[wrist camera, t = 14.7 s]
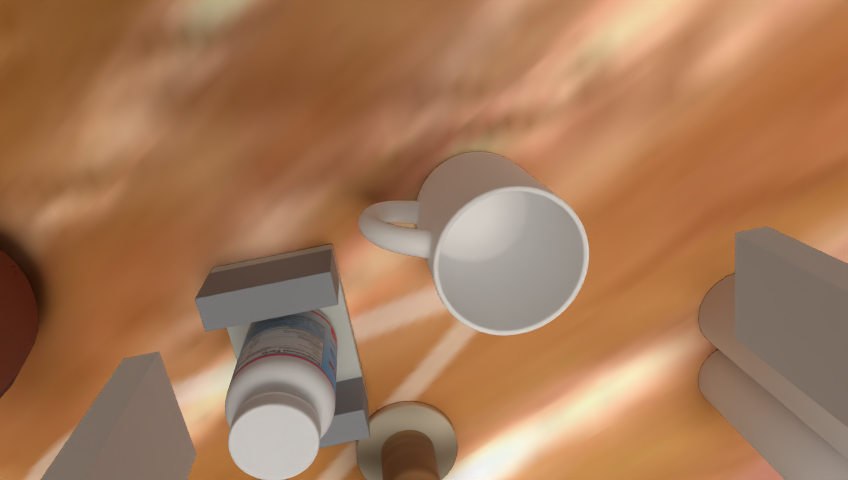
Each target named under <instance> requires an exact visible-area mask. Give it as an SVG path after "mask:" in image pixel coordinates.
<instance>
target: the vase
mask: <svg viewBox="0 0 848 480" xmlns="http://www.w3.org/2000/svg"><path fill="white" fill-rule="evenodd" d="M698 320H699V325H700V330H701V331H702V333H703V334H704V336H705V337H706V339H707V340H708V341H709V342H711V343H712V344H713V345H714V346H715V347H716V348H718V349H719V350H717V351H715V352H714V353H712V354H711V355H710V356H709V357H708V358H707V359H706V360H705V362H704V363H703V364H702V367H701V369H700V371H699V376H698V385H699V390H700V391H701V393H702V395H703V396H704V397H705V398H706V399H707V400H708V401H709V402H710V404H711V405H712V406H713V407H714V408H715V409H716V410H717V411H718V412H719V413H720V414H721V415H722V416H723V417H724V418H725V419H726V420H727V421H728V422H729V423H730V424H731V425H732V426H733V427H734V428H735V429H736V430H737V431H738V432H739V433H740V434H741V435H742V436H743V437H744V438H745V439H746V440H747V441H748V443H749V444H750V445H751V446H752V447H753V448H754V449H755V450H756V451H757V452H758V453H759V454H760V455H761V456H762V457H763V458H764V459H765V460H766V461H767V462H768V463H769V464H770V465H771V466H772V467H773V468H774V469H775V470H776V471H777V472H778V473H779V474H780V475H781V476H782V477H783V478H784V479H785V480H848V428H847V427H846V426H845V425H844V424H842V423H841V422H840V421H839V420H837V419H836V418H835V417H833V416H832V415H831V414H830V413H828V412H827V411H826V410H825V409H823V408H822V407H821V406H820V405H818V404H817V403H816V402H815V401H813V400H812V399H811V398H810V397H808V396H807V395H806V394H804V393H803V392H802V391H801V390H799V389H798V388H797V387H796V386H794V385H793V384H792V383H791V382H789V381H788V380H787V379H786V378H784V377H783V376H782V375H781V374H779V373H778V372H777V371H775V370H774V369H773V368H772V367H770V366H769V365H768V364H767V363H765V362H764V361H763V360H762V359H760V358H759V357H758V356H757V355H755V354H754V353H753V352H751V351H750V350H749V349H748V348H746V347H745V346H744V345H743V344H741V343H740V342H739V341H738V340H736V339H735V274H732V275H729V276H727V277H725V278H724V279H722V280H721V281H719V282H718V283H716V284H715V285H714V286H713V288H712V289H711V290H710V291H709V292H708V293H707V294H706V296H705V298H704V300H703V302H702V304H701V306H700V311H699V317H698Z"/></svg>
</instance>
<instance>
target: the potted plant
mask: <svg viewBox="0 0 848 480" xmlns="http://www.w3.org/2000/svg"><path fill="white" fill-rule="evenodd" d="M38 316H39V314H38V309H37V304H36V299H35V296H34V293H33V290H32V288H31V286H30V283H29V281H28V279H27V277H26V275H25V274H24V272H23V271H22V270H21V268H20V267H19V265H18V264H17V263H16V262H15V261H14V260H13V259H12V258H11V257H10V256H9V255H8V254H6V253H5V252H3V251H2V250H1V249H0V398H1V397H2V396H3V394H4V393H5V392H6V391H7V390H8V389H9V388H10V387H11V385H12V384H13V382H14V380H15V378H16V376H17V375H18V373H19V371H20V369H21V367H22V366H23V364H24V362H25V360H26V358H27V356H28V354H29V353H30V351H31V349H32V347H33V345H34V343H35V339H36V336H37V332H38Z"/></svg>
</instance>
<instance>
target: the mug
mask: <svg viewBox="0 0 848 480" xmlns="http://www.w3.org/2000/svg"><path fill="white" fill-rule="evenodd" d="M394 222H401V223H413V224H416V228H410V227H402V226H397V225H393V224H390V223H394ZM358 223H359V229H360V231H361V232H362V234H363V235H364V237H365V238H366V239H368V240H369V241H370V242H372V243H374V244H375V245H377V246H379V247H381V248H383V249H386V250H389V251H392V252H396V253H400V254H404V255H410V256H415V257H422V258H426V260H427V263H428V266H429V269H430V272H431V275H432V278H433V281H434V283H435V286H436V289H437V292H438V295H439V297H440V299H441V301H442V303H443V304H444V305H445V307H446V308H447V310H448V311H449V312H450V313H451V314H452V315H453V316H454V317H455V318H456V319H458V320H459V321H460V322H462V323H463V324H465V325H467V326H468V327H470V328H472V329H475V330H477V331H480V332H484V333H487V334H493V335H516V334H521V333H526V332H529V331H532V330H535V329H537V328H539V327H541V326H543V325H545V324H547V323H549V322H550V321H552V320H553V319H555V318H556V317H557V316H559V315H560V314H561V313H562V312H563V311H564V310H565V309H566V308H567V307H568V306H569V305H570V304H571V302H572V301H573V300H574V299H575V297H576V295H577V294H578V292H579V290H580V289H581V286H582V284H583V282H584V279H585V276H586V273H587V268H588V263H589V246H588V240H587V235H586V232H585V229H584V227H583V224H582V223H581V221H580V219H579V217H578V216H577V214H576V213H575V212H574V211H573V209H572V208H571V207H570V206H569V205H568V204H567V203H566V202H564V201H563V200H562V199H561V198H559V197H558V196H557V195H556V194H554V193H553V192H552V191H550V190H549V189H548V188H547V187H545V186H544V185H543V184H541V183H540V182H539V181H538V180H536V179H535V178H534V177H533V176H531V175H530V174H529V173H527V172H526V171H525V170H524V169H522V168H521V167H520V166H518V165H517V164H515V163H514V162H512V161H511V160H509V159H507V158H505V157H503V156H500V155H497V154H494V153H489V152H468V153H463V154H460V155H457V156H454V157H452V158H450V159H448V160H446V161H445V162H443V163H442V164H440V165H439V166H438V167H437V168H435V169H434V170H433V171H432V172H431V174H430V175H429V176H428V177H427V179H426V180H425V182H424V183H423V185H422V187H421V189H420V191H419V194H418V197H417V201H409V200H395V201H384V202H379V203H376V204H373V205H371V206H369V207H367V208H366V209H365V210H364V211H363V212H362V213H361V215H360V217H359V221H358Z"/></svg>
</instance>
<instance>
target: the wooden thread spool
mask: <svg viewBox="0 0 848 480" xmlns="http://www.w3.org/2000/svg"><path fill="white" fill-rule="evenodd" d="M369 427H370V437H369V438H365V439H360V440H357V462H358V466H359V469H360V471H361V473H362V474H363V476H364V477H365V478H366V479H367V480H442V479H443V478H444V477H445V476H446V475H447V474H448V473H449V471H450V470H451V468H452V467H453V465H454V463H455V460H456V457H457V449H458V446H457V439H456V436H455V432H454V428H453V426H452V424H451V422H450V420H449V419H448V418H447V416H446V415H445V414H444V413H442V412H441V411H440V410H439V409H437V408H435V407H433V406H431V405H429V404H426V403H422V402H415V401H404V402H398V403H394V404H390V405H388V406H385V407H383V408H382V409H380V410H378V411H377V412H375V413H374V414H373V415H372V416H370V417H369Z"/></svg>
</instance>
